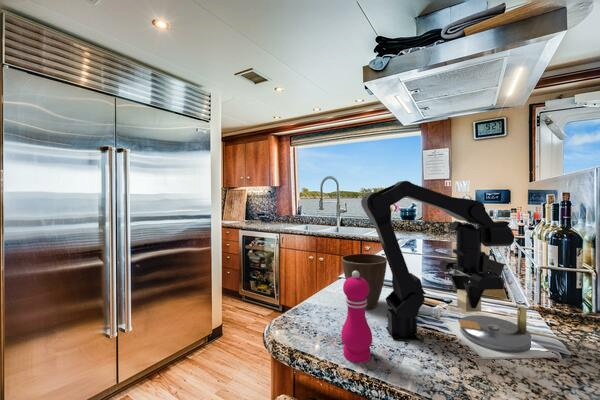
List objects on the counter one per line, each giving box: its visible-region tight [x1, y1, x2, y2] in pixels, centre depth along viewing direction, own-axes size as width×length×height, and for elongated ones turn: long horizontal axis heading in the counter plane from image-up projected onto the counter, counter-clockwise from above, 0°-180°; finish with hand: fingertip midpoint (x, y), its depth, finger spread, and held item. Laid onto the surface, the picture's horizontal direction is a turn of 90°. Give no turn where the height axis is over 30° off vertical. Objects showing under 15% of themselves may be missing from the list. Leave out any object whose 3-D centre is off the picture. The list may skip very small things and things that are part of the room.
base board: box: [442, 321, 558, 360], centre depth 72 cm, size 17×17×1 cm
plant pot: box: [341, 253, 388, 310], centre depth 95 cm, size 15×15×16 cm
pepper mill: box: [340, 271, 373, 364], centre depth 66 cm, size 7×7×20 cm
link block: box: [456, 289, 482, 313], centre depth 75 cm, size 4×4×4 cm
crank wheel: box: [457, 306, 532, 352], centre depth 72 cm, size 15×15×8 cm
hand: (468, 304), depth 75 cm, fingers closed on link block, 4 cm apart
